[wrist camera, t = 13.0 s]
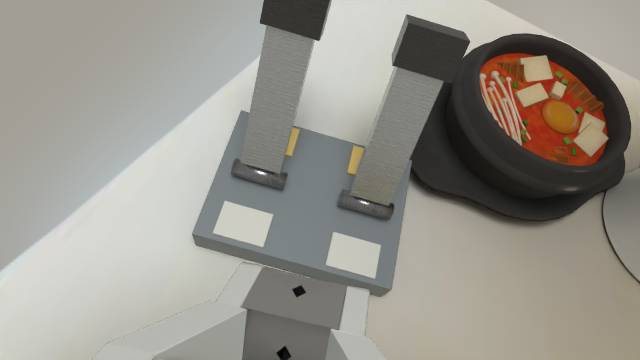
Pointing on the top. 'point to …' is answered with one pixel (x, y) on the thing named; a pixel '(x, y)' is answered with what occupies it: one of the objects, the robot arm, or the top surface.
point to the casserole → (525, 129)
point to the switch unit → (303, 215)
